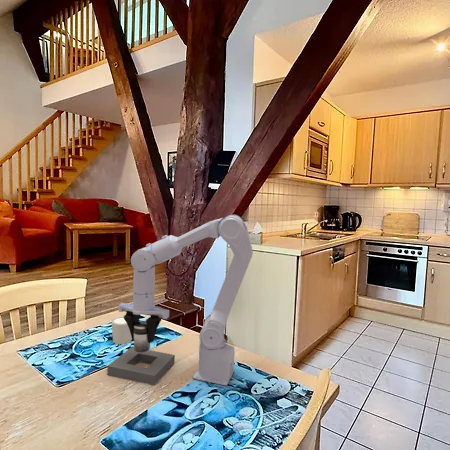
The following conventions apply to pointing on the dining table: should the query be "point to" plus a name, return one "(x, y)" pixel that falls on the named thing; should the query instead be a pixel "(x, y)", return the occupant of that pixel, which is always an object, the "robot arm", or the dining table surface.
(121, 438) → the dining table surface
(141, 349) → the lens
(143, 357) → the square peg hole
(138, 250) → the robot arm
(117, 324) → the white cylinder
